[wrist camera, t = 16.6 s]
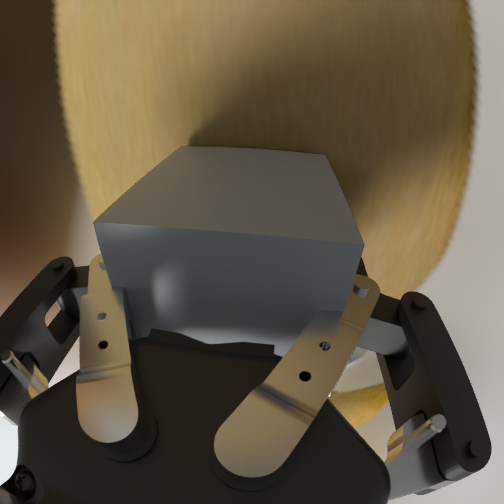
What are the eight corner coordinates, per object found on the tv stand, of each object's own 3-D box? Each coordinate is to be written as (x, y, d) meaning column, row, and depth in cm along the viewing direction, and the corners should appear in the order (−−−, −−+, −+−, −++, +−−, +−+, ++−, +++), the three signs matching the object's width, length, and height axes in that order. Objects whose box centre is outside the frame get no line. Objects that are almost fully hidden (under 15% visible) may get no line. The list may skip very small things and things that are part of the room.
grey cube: (181, 146, 13) (93, 222, 7) (325, 155, 12) (364, 244, 6) (190, 261, 16) (143, 369, 10) (306, 272, 16) (312, 391, 10)
